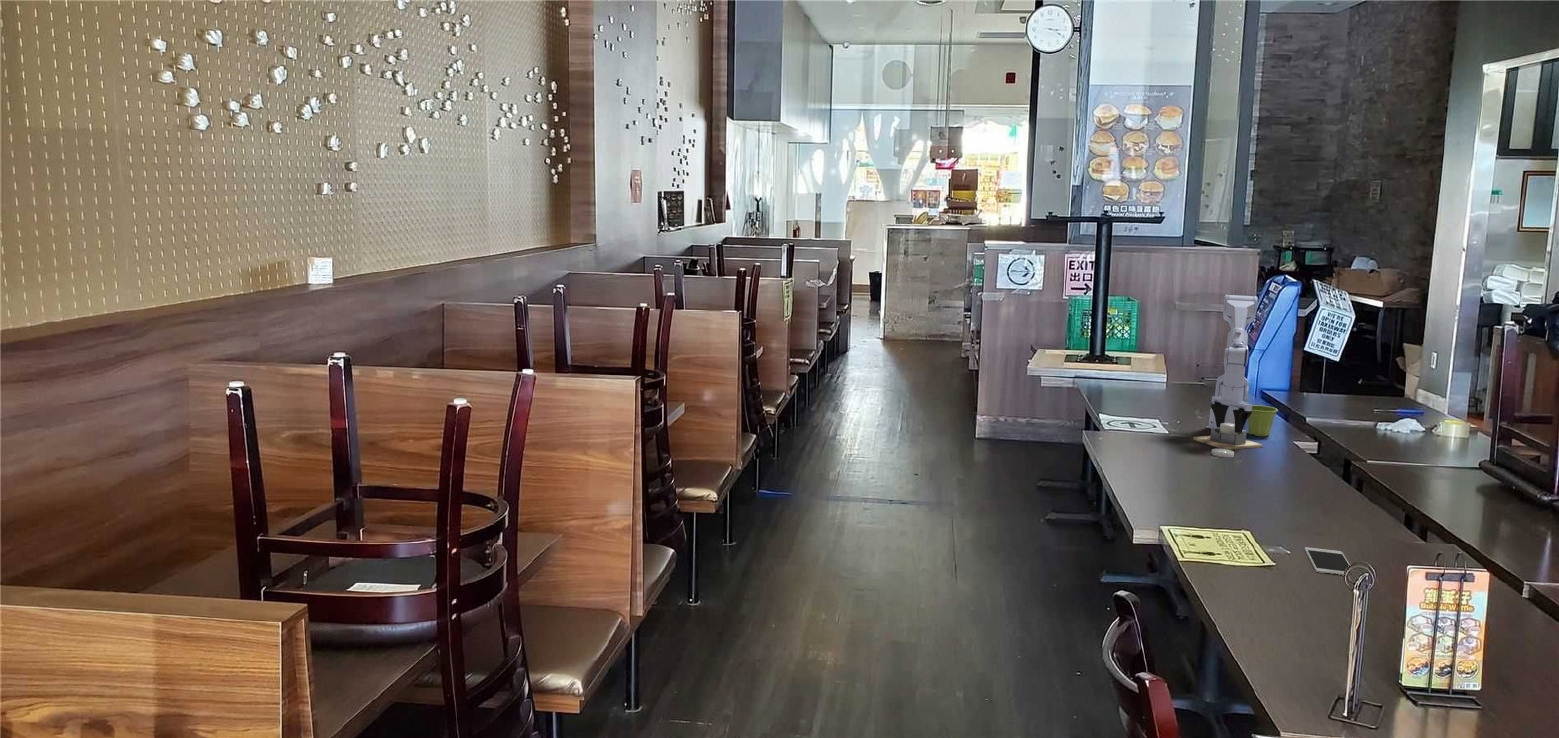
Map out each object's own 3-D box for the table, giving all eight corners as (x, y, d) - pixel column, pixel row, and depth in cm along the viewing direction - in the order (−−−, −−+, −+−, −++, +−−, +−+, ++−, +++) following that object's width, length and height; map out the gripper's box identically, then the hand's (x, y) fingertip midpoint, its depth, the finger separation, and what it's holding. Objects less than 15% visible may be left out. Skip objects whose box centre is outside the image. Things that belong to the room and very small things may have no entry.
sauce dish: (1206, 454, 309) (1207, 449, 309) (1222, 453, 311) (1223, 448, 311) (1222, 459, 303) (1222, 454, 303) (1238, 457, 306) (1238, 452, 305)
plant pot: (1278, 438, 332) (1281, 411, 330) (1247, 436, 333) (1250, 410, 332) (1269, 432, 341) (1272, 406, 339) (1239, 430, 342) (1241, 404, 341)
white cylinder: (1215, 439, 324) (1216, 423, 323) (1228, 438, 326) (1229, 422, 325) (1227, 443, 320) (1228, 426, 319) (1240, 442, 321) (1241, 426, 320)
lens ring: (1203, 438, 326) (1204, 428, 325) (1228, 436, 329) (1229, 427, 328) (1226, 445, 316) (1227, 435, 316) (1253, 443, 320) (1253, 434, 319)
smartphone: (1341, 555, 221) (1341, 550, 221) (1356, 579, 207) (1356, 575, 206) (1303, 550, 223) (1304, 546, 223) (1315, 574, 209) (1316, 570, 209)
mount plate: (1193, 439, 327) (1193, 437, 327) (1228, 437, 332) (1229, 434, 332) (1226, 449, 314) (1226, 447, 314) (1262, 447, 319) (1263, 444, 319)
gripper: (1205, 382, 325) (1201, 425, 327) (1240, 390, 312) (1236, 435, 314) (1223, 381, 328) (1219, 424, 330) (1259, 390, 314) (1254, 434, 316)
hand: (1228, 429), depth 322 cm, fingers open, 7 cm apart
